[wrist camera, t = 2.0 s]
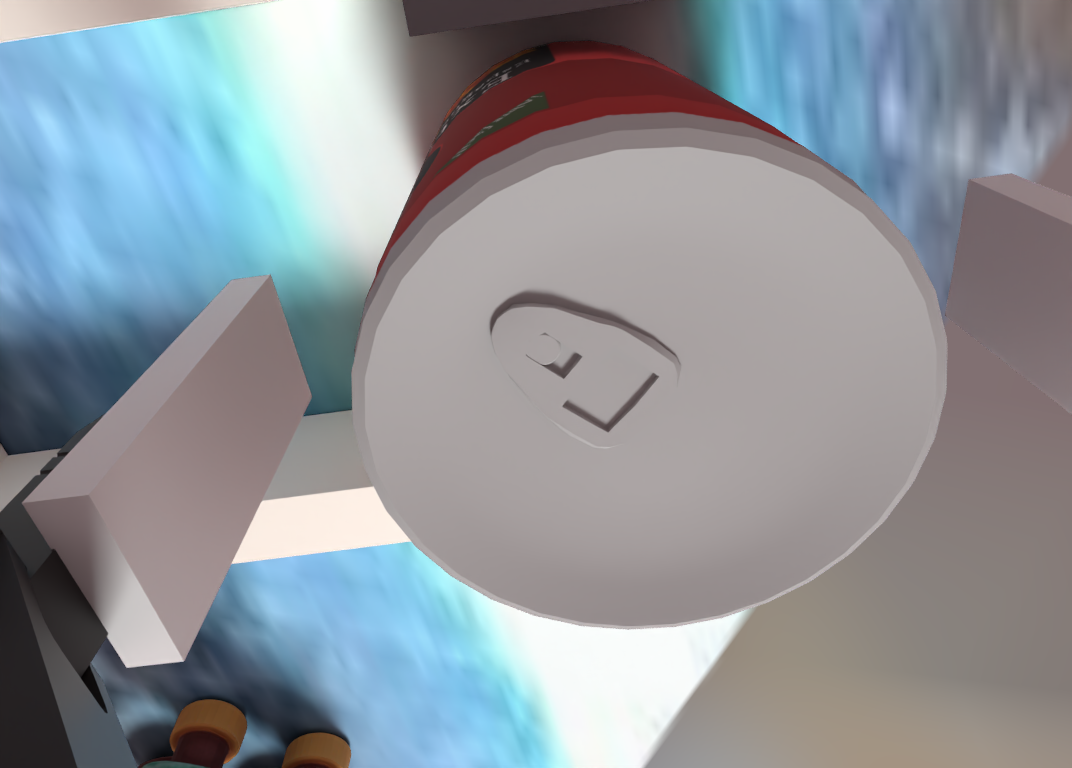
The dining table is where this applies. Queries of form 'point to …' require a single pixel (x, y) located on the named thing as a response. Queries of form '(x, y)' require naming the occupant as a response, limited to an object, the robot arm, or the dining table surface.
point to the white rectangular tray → (320, 440)
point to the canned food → (639, 349)
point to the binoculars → (238, 741)
